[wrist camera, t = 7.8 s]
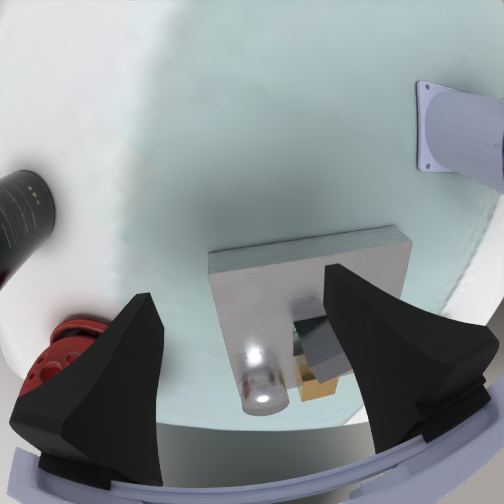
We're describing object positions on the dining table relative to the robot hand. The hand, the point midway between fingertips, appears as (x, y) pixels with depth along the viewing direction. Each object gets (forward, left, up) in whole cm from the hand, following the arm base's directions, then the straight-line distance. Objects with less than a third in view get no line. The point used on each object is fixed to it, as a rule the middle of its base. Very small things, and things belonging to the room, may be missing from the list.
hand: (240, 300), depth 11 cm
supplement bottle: (+17, -4, -10) cm, 20 cm away
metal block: (-6, +11, -10) cm, 16 cm away
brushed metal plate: (-6, +11, -10) cm, 16 cm away
